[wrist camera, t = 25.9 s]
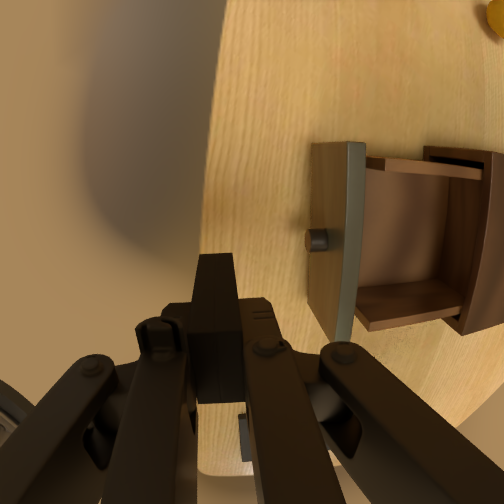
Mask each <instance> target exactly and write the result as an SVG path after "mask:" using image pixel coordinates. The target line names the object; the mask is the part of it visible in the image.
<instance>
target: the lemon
mask: <svg viewBox="0 0 504 504" xmlns="http://www.w3.org/2000/svg"><path fill="white" fill-rule="evenodd" d="M486 16H487V20H488V25H489V26H490V27H491V28H492V29H493V30H494V32H495V33H496V34H498V35H499V36H500V37H502V38H504V0H492V1H491V2H490V3H489V4H488V7H487V10H486Z"/></svg>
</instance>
